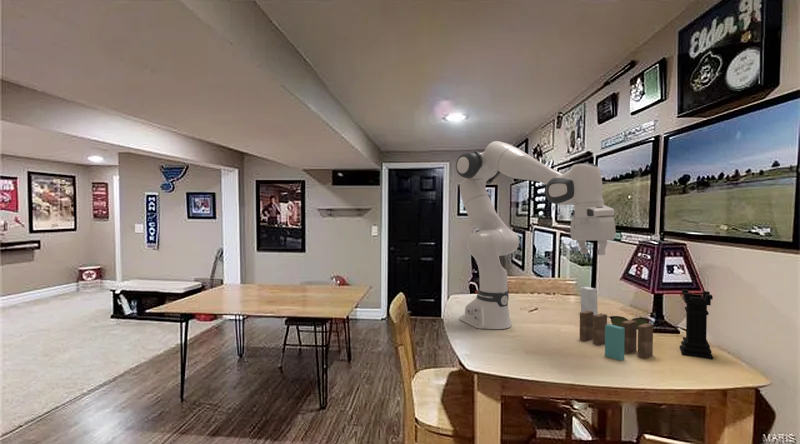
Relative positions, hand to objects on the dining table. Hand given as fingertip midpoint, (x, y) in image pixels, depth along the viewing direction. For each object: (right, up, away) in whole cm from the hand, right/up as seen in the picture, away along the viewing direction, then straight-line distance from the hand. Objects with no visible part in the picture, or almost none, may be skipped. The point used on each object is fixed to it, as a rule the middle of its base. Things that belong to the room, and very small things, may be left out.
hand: (592, 254), depth 130 cm
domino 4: (+13, -32, +2) cm, 35 cm away
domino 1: (+5, -32, +15) cm, 36 cm away
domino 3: (+6, -33, -3) cm, 33 cm away
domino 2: (+8, -32, +11) cm, 35 cm away
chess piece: (+34, -33, 0) cm, 47 cm away
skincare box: (+21, -31, +47) cm, 60 cm away
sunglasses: (+30, -32, +34) cm, 55 cm away
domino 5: (+16, -33, -2) cm, 36 cm away
